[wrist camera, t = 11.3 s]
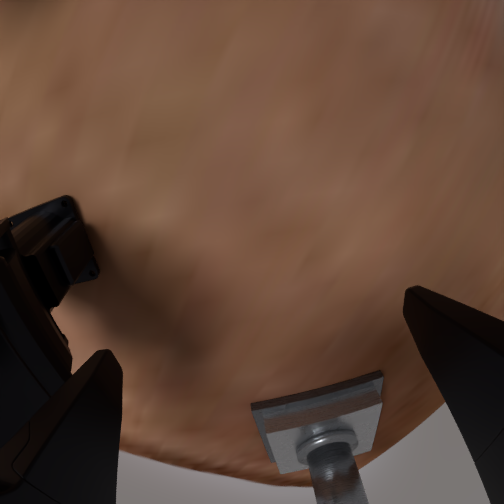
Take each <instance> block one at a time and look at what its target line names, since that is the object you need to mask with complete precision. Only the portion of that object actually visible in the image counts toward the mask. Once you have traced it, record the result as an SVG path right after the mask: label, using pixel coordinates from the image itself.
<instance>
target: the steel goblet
mask: <svg viewBox="0 0 504 504" xmlns="http://www.w3.org/2000/svg"><path fill="white" fill-rule="evenodd" d="M358 444H359V442H358V439H357V436H356V434H355V432H353V431H351V430H333V431H328V432H324V433H321V434H318V435H316V436H313V437H311V438H309V439H307V440H305V441H304V442H303V443H301V444H300V445H299V446H298V447H297V449H296V455H297V460H298V462H299V463H301V464H304V465H308V467H309V471H310V475H311V480H312V484H313V488H314V492H315V497H316V501H317V504H369V503H368V499H367V496H366V493H365V490H364V487H363V484H362V481H361V478H360V474H359V471H358V468H357V465H356V462H355V459H354V456H353V453H352V452H353V451H354V450H355V449H356V448H357V446H358Z"/></svg>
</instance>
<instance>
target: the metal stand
mask: <svg viewBox="0 0 504 504" xmlns="http://www.w3.org/2000/svg"><path fill="white" fill-rule="evenodd" d="M383 378H384V376H383V374H382V372H381V371H380V370H379V371H376V372H373V373H370V374H367V375H364V376H361V377H357V378H354V379H351V380H347V381H344V382H341V383H337V384H333V385H330V386H326V387H322V388H319V389H315V390H311V391H307V392H303V393H298V394H294V395H290V396H285V397H281V398H276V399H271V400H266V401H261V402H256V403H251V411H252V414H253V417H254V419H255V422H256V425H257V427H258V430H259V433H260V435H261V438H262V440H263V443H264V446H265V448H266V451H267V453H268V456H269V458H270V461H271V463H273V462H276V463H277V466H278V469H279V471H280V474H284V473H289V472H294V471H299V470H303V469H307V468H309V467H308V465H304V464H301V463H299V462H298V460H297V455H296V449H297V447H298V446H299V445H300V444H301V443H303V442H304V441H305V440H307V439H309V438H311V437H313V436H316V435H318V434H321V433H324V432H328V431H333V430H351V431H353V432H355V434H356V436H357V439H358V442H359V444H358V446H357V448H356V449H355V450H354V451H353V452H352V453H353V456H355V455H358V454H361V453H364V452H367V451H370V450H371V448H372V445H373V441H374V437H375V433H376V429H377V425H378V421H379V417H380V412H381V408H382V403H383V402H382V400H381V398H380V395H381V390H382V384H383Z"/></svg>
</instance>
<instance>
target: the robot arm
mask: <svg viewBox="0 0 504 504" xmlns="http://www.w3.org/2000/svg"><path fill="white" fill-rule="evenodd" d="M64 200H65V201H66V202H67V205H65V204H64ZM11 221H12V222H13V225H12V223H11ZM93 254H94V252H93V249H92V247H91V244H90V242H89V239H88V237H87V234H86V232H85V229H84V226H83V224H82V222H81V221H80V220H79V218H78V215H77V212H76V209H75V206H74V204H73V201H72V199H71V197H70V196H68V195H64V196H61V197H58V198H56V199H53V200H50V201H48V202H45V203H43V204H40V205H37V206H35V207H33V208H30V209H28V210H25V211H23V212H20V213H18V214H16V215H13V216H11V217H10V218H8V217H7V218H4V219H2V220H0V504H116V485H117V467H118V454H119V442H120V432H121V422H122V388H123V371H122V368H121V366H120V364H119V363H118V361H117V359H116V358H115V356H114V355H113V353H112V351H111V350H109V349H104V350H98V351H96V352H95V353H94V354H93V355H92V356H91V357H90V358H89V359H88V360H87V361H86V362H85V363H84V364H83V365H82V366H81V367H80V368H79V369H78V370H77V371H76V372H75V373H74V374H73V375H72V373H71V367H72V355H71V352H70V349H69V347H68V339H67V338H66V336H65V335H64V334H62V332H61V331H60V329H59V327H58V326H57V324H56V322H55V321H54V319H53V317H52V315H51V312H52V310H53V308H54V307H57V306H59V304H60V303H61V301H62V299H63V298H64V296H65V295H66V293H67V292H68V290H69V289H70V287H71V286H72V285H74V284H76V283H81V282H85V281H89V280H94V279H96V278H97V277H98V276H99V274H100V270H99V267H98V265H97V263H96V260H95V258H94V256H93ZM91 270H92V271H94V272H95V274H93V273H92V272H91ZM403 315H404V318H405V320H406V323H407V325H408V327H409V329H410V332H411V334H412V336H413V338H414V341H415V343H416V345H417V348H418V350H419V352H420V354H421V357H422V358H423V360H424V362H425V364H426V366H427V368H428V369H429V371H430V373H431V375H432V377H433V379H434V381H435V382H436V384H437V386H438V388H439V390H440V392H441V394H442V396H443V398H444V400H445V402H446V403H447V405H448V407H449V409H450V411H451V413H452V415H453V417H454V419H455V422H456V423H457V426H458V428H459V430H460V432H461V434H462V436H463V438H464V441H465V443H466V445H467V447H468V449H469V451H470V453H471V456H472V458H473V461H474V462H475V466H476V468H477V470H478V473H479V475H480V478H481V480H482V482H483V485H484V488H485V490H486V493H487V495H488V498H489V500H490V503H491V504H504V321H502V320H500V319H497V318H495V317H493V316H490V315H488V314H486V313H483V312H481V311H479V310H476V309H474V308H472V307H469V306H467V305H465V304H462V303H460V302H458V301H455V300H453V299H450V298H448V297H446V296H443V295H441V294H438V293H436V292H434V291H431V290H429V289H426V288H424V287H421V286H418V285H417V286H413V287H410V288H407V289H406V291H405V297H404V305H403Z"/></svg>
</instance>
